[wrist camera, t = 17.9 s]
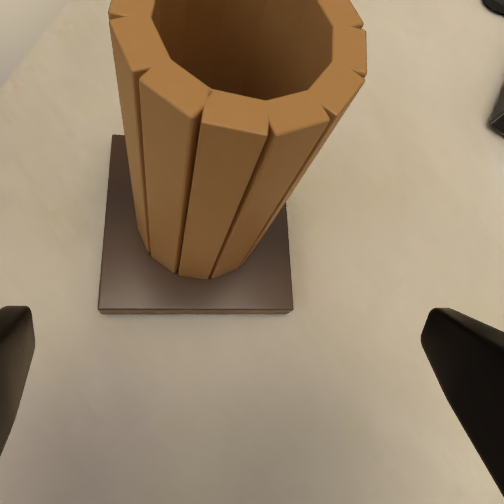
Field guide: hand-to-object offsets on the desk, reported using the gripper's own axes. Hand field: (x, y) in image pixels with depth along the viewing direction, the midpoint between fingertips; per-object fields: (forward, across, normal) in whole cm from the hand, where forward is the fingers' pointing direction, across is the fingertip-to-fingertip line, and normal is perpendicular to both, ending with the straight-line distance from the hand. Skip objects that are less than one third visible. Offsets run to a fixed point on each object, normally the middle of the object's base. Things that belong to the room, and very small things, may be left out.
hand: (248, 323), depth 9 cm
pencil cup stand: (+14, 0, +4) cm, 15 cm away
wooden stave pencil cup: (+14, 0, +3) cm, 14 cm away
